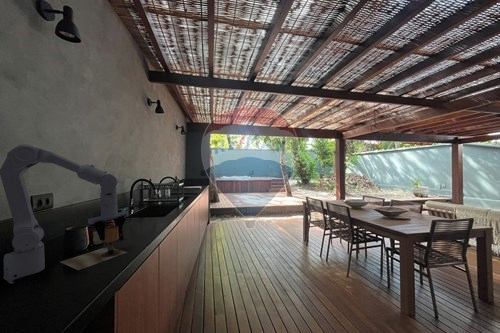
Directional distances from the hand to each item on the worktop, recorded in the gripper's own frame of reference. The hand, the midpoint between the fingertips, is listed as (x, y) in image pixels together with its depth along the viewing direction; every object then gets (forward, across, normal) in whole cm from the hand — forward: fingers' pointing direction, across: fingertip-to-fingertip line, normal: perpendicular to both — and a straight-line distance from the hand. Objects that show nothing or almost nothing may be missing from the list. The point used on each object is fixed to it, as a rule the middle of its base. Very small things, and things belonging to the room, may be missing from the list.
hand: (110, 237), depth 88 cm
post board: (+8, -4, +2) cm, 9 cm away
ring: (+1, 0, 0) cm, 1 cm away
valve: (+8, +8, +18) cm, 21 cm away
